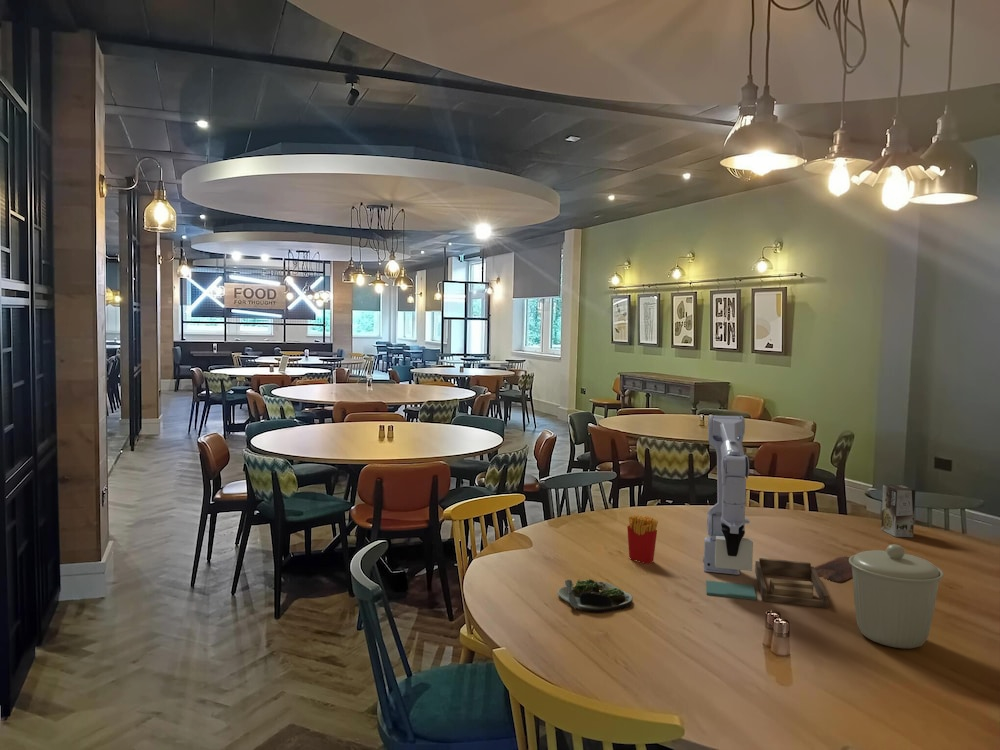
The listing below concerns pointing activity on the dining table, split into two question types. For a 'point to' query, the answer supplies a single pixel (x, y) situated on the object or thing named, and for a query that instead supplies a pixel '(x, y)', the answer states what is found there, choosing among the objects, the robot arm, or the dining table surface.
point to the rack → (795, 571)
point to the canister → (894, 596)
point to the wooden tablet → (835, 570)
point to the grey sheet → (731, 562)
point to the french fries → (642, 538)
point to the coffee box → (898, 510)
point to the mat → (730, 590)
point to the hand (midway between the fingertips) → (731, 553)
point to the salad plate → (594, 596)
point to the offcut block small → (793, 592)
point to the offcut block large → (790, 584)
